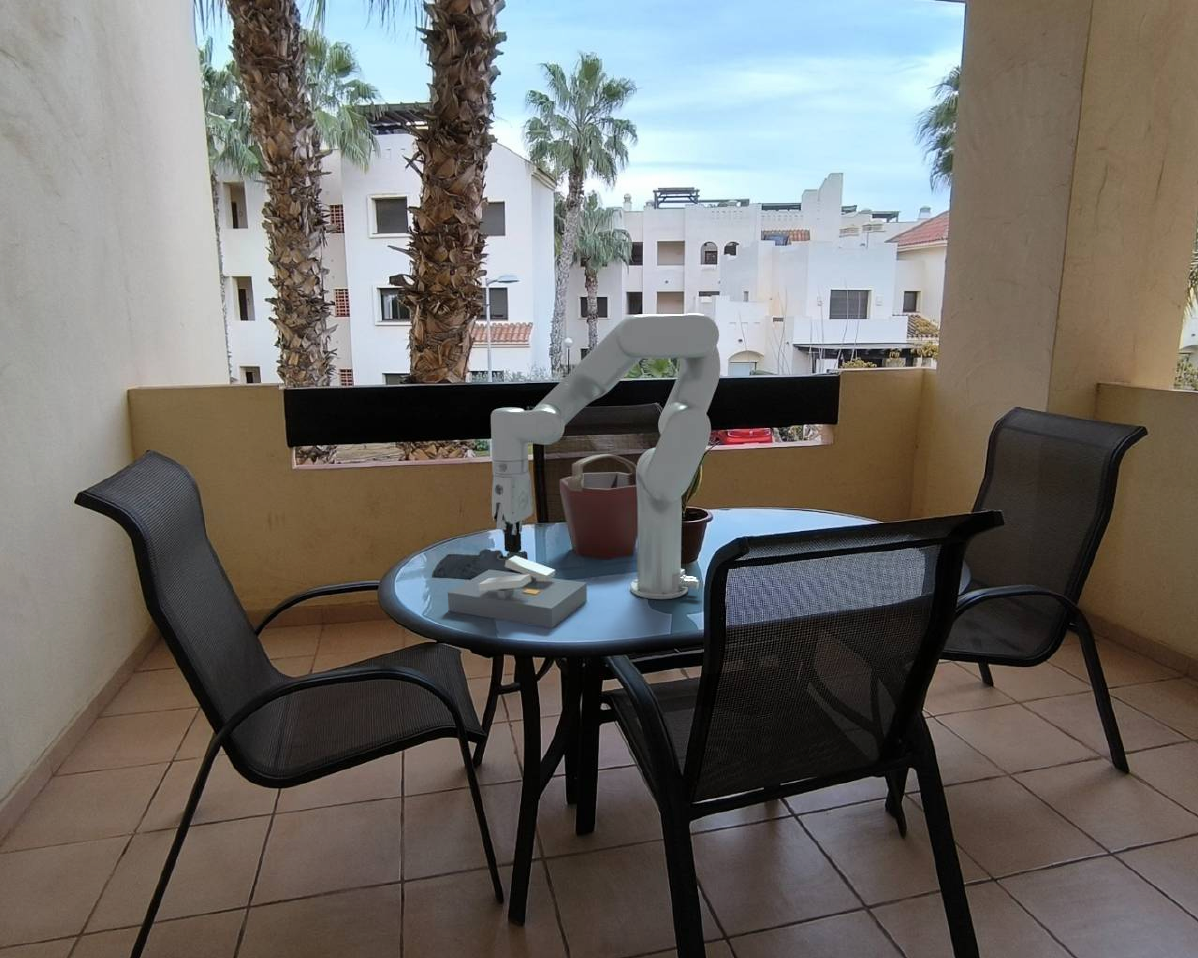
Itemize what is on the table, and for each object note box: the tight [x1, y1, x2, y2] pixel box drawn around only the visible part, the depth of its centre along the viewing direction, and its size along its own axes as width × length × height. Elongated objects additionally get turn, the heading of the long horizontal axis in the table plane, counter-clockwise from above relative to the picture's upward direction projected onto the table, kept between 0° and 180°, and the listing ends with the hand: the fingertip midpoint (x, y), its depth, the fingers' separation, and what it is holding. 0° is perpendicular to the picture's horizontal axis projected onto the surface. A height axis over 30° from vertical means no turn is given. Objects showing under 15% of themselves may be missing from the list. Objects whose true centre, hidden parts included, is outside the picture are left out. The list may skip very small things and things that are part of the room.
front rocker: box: [478, 574, 531, 591], centre depth 151 cm, size 10×4×1 cm, turn 66°
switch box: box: [447, 569, 588, 629], centre depth 156 cm, size 24×16×6 cm, turn 66°
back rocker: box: [505, 556, 556, 582], centre depth 160 cm, size 10×4×1 cm, turn 66°
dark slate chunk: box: [432, 548, 529, 581], centre depth 180 cm, size 15×22×5 cm
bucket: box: [559, 453, 638, 561], centre depth 194 cm, size 24×22×25 cm
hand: (513, 550), depth 161 cm, fingers closed
